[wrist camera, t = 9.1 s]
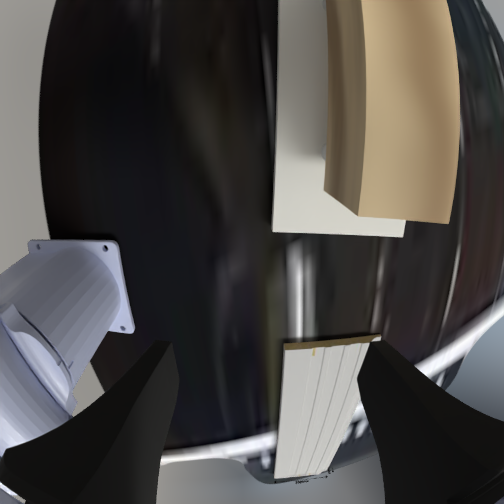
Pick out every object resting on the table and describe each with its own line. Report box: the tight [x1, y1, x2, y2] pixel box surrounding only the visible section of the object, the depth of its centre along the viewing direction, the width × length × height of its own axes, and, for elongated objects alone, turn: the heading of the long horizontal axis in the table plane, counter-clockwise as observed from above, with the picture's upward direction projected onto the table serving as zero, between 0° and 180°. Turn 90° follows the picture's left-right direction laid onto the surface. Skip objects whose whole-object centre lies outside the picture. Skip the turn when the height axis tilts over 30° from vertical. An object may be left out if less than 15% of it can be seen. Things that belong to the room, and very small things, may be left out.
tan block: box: [323, 0, 460, 224], centre depth 9 cm, size 4×14×5 cm, turn 179°
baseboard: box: [274, 334, 381, 483], centre depth 27 cm, size 30×3×10 cm
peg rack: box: [271, 0, 406, 237], centre depth 13 cm, size 9×20×3 cm, turn 178°
